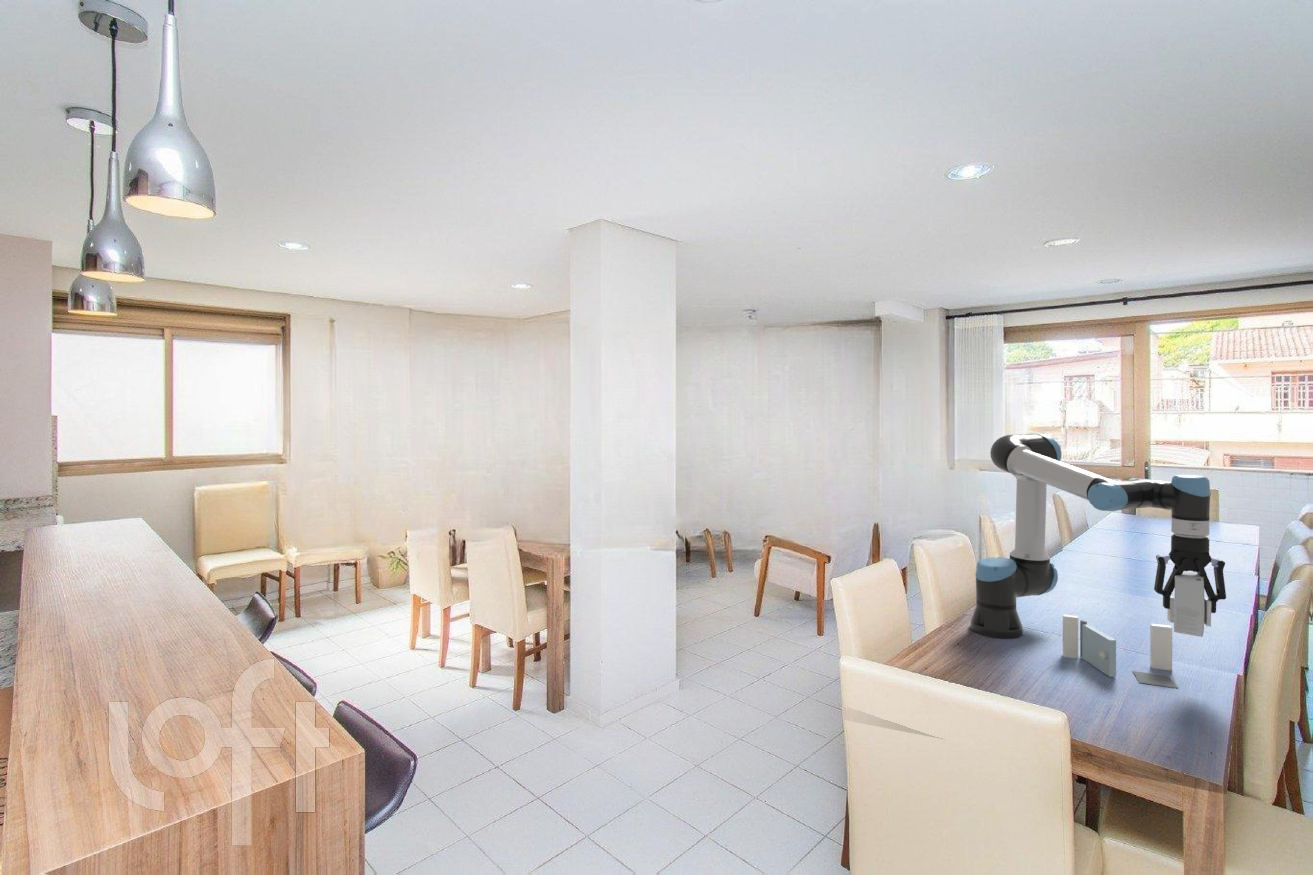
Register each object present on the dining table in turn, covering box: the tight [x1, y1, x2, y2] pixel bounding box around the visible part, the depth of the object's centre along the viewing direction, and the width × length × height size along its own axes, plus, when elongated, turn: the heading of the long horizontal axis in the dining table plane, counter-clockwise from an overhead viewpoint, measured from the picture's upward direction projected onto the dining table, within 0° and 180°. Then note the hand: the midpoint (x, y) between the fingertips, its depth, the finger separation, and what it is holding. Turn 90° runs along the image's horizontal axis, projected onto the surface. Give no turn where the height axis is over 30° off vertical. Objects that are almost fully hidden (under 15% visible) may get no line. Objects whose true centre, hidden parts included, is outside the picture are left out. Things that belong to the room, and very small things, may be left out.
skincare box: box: [1173, 571, 1205, 638], centre depth 162 cm, size 8×6×15 cm
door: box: [1079, 620, 1117, 678], centre depth 176 cm, size 15×3×11 cm, turn 174°
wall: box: [1062, 614, 1173, 672], centre depth 179 cm, size 25×2×12 cm, turn 63°
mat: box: [1132, 670, 1179, 689], centre depth 167 cm, size 8×8×1 cm
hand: (1188, 622), depth 162 cm, fingers closed on skincare box, 7 cm apart
